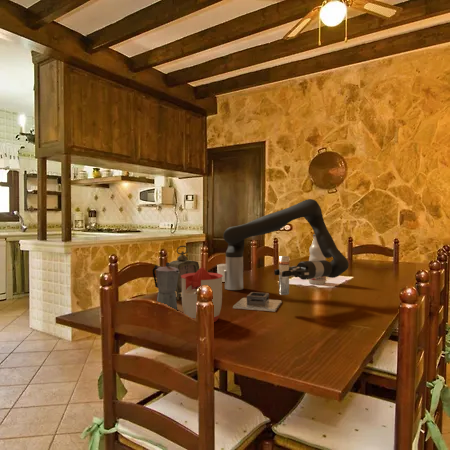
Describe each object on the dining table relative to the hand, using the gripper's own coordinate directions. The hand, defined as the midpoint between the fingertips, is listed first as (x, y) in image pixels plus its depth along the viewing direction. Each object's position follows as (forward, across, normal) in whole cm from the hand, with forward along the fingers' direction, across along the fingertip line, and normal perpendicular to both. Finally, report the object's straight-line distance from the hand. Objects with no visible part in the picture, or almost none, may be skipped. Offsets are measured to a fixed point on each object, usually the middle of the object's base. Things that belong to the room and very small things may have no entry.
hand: (278, 273), depth 144 cm
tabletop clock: (+20, -47, +17) cm, 54 cm away
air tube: (-3, 0, +8) cm, 9 cm away
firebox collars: (-1, -15, +16) cm, 23 cm away
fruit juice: (-61, -38, +17) cm, 74 cm away
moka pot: (+36, -30, +17) cm, 50 cm away
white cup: (-18, -72, +17) cm, 76 cm away
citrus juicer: (+30, -8, +17) cm, 36 cm away
